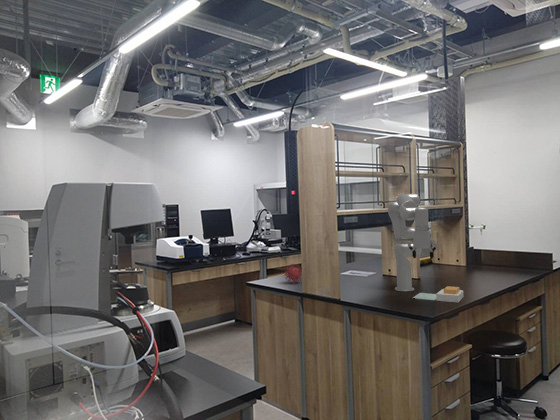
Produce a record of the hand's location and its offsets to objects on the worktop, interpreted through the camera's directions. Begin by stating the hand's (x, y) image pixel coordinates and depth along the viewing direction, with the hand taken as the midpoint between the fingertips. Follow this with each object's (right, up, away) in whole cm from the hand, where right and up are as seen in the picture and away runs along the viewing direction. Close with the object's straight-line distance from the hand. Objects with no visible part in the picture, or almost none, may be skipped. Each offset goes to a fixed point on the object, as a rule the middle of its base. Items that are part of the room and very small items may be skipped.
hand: (423, 258), depth 240 cm
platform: (+19, -25, +7) cm, 32 cm away
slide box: (+19, -20, +6) cm, 28 cm away
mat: (+7, -25, +14) cm, 30 cm away
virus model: (-72, -28, +76) cm, 108 cm away
